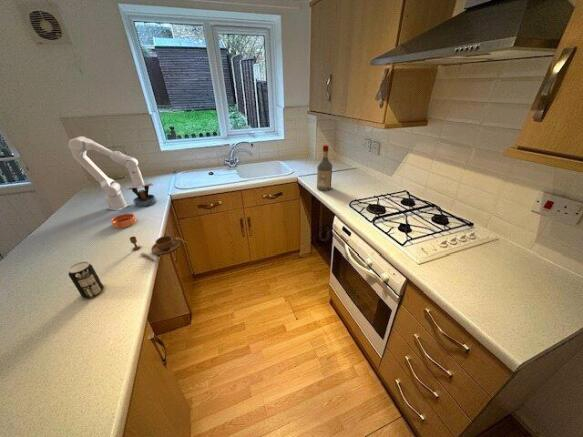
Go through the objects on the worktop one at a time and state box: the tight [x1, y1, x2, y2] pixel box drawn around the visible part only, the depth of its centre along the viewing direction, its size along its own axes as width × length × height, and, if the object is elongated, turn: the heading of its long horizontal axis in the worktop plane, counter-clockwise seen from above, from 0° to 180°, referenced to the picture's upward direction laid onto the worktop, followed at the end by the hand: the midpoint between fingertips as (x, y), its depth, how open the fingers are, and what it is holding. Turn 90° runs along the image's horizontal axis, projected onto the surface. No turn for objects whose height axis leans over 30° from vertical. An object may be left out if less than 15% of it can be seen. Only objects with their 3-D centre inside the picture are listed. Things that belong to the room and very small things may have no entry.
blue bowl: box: [133, 193, 157, 208], centre depth 155 cm, size 12×12×4 cm
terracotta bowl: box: [110, 212, 138, 230], centre depth 131 cm, size 11×11×4 cm
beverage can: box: [67, 261, 104, 299], centre depth 85 cm, size 7×7×12 cm
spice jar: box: [138, 189, 148, 202], centre depth 153 cm, size 4×4×8 cm
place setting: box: [129, 235, 188, 262], centre depth 111 cm, size 18×20×6 cm
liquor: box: [316, 144, 333, 192], centre depth 163 cm, size 9×9×30 cm
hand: (144, 198), depth 154 cm, fingers closed on spice jar, 4 cm apart
